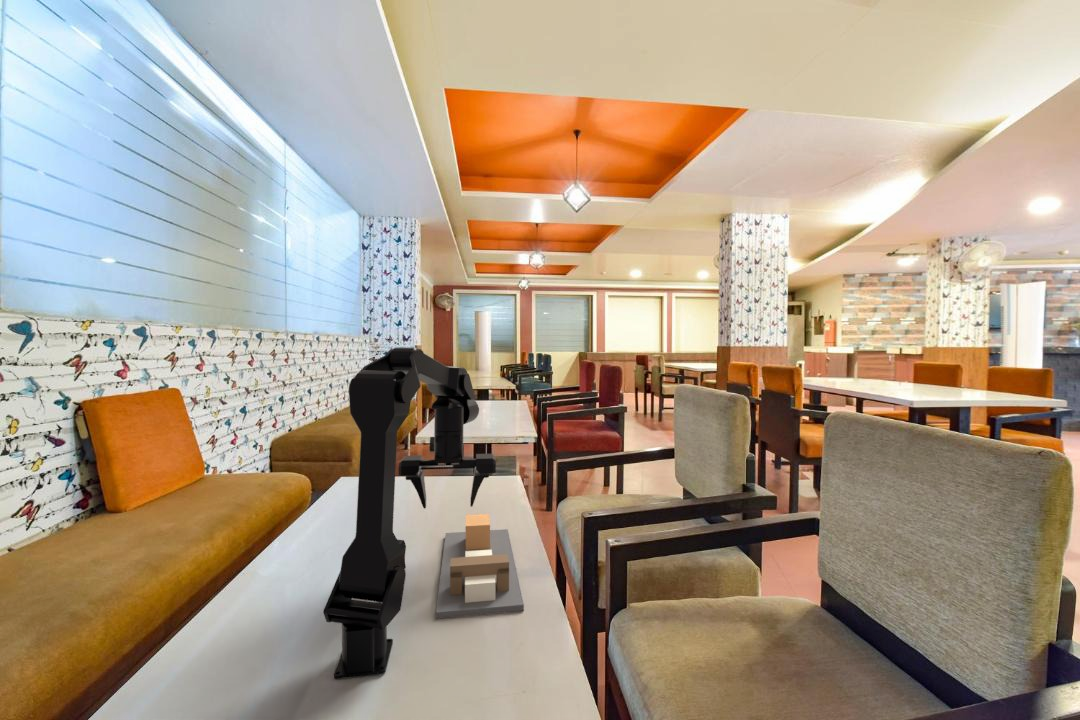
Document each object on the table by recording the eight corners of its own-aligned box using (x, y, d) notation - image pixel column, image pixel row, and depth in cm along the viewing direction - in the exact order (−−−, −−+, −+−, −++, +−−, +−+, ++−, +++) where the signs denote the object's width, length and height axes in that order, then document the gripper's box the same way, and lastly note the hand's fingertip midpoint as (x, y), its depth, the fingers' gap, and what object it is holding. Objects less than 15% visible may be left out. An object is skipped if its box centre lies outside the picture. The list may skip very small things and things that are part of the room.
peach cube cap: (490, 548, 92) (490, 524, 92) (465, 550, 91) (465, 526, 91) (488, 536, 98) (488, 513, 98) (465, 537, 97) (465, 515, 97)
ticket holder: (523, 610, 72) (523, 574, 72) (436, 618, 70) (435, 581, 70) (507, 533, 102) (507, 507, 102) (445, 537, 100) (445, 511, 100)
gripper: (493, 423, 98) (493, 493, 98) (407, 424, 96) (406, 496, 96) (496, 431, 87) (495, 510, 87) (398, 432, 85) (397, 514, 85)
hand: (448, 506), depth 89 cm, fingers open, 9 cm apart
